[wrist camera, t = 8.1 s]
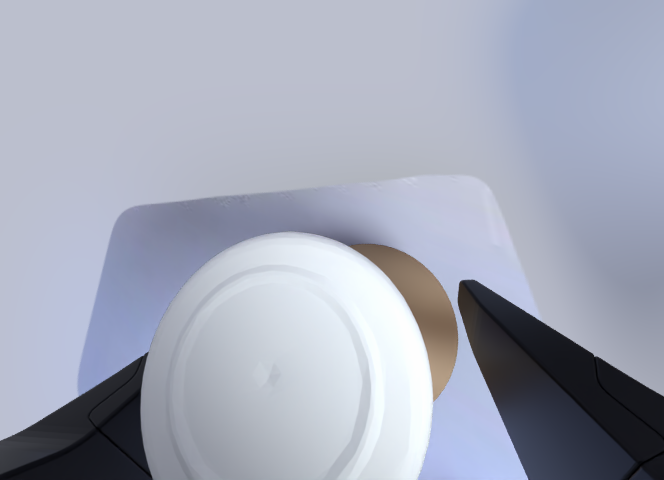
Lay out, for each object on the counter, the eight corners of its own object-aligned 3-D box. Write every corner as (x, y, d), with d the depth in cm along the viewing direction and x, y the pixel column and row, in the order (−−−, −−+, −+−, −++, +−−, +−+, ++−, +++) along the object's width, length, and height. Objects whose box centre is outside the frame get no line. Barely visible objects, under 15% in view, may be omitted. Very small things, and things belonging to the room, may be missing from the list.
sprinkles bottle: (401, 360, 15) (499, 609, 2) (328, 370, 16) (104, 610, 3) (384, 285, 16) (391, 195, 4) (318, 297, 17) (136, 253, 4)
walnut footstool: (460, 396, 17) (482, 419, 14) (309, 408, 19) (291, 432, 15) (423, 246, 21) (432, 231, 17) (297, 267, 22) (280, 257, 18)
